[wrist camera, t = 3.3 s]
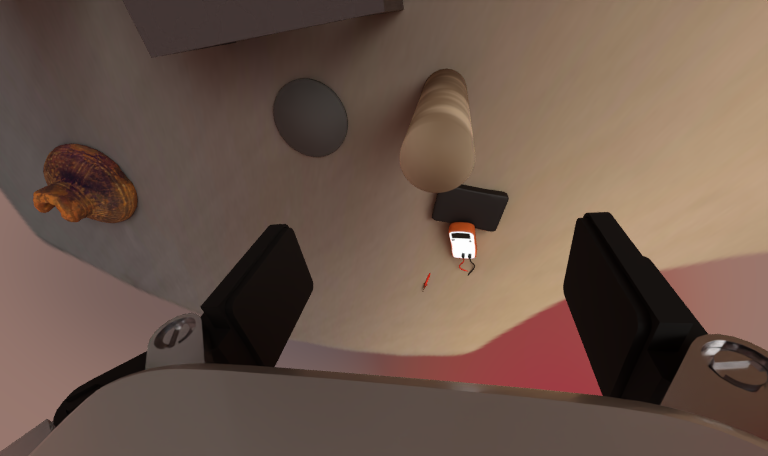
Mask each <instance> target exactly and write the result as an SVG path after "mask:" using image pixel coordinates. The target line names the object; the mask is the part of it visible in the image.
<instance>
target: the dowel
mask: <svg viewBox="0 0 768 456" xmlns="http://www.w3.org/2000/svg"><path fill="white" fill-rule="evenodd" d="M474 164H475V148H474V141H473V133H472V125H471V118H470V110H469V103H468V95H467V88H466V83H465V80H464V78H463V77H462V76H461V75H460V74H459V73H458V72H456V71H454V70H452V69H441V70H438V71H436V72H434V73H433V74H432V75H431V76H430V77H429V78H428V79H427V81H426V83H425V85H424V88H423V91H422V93H421V96H420V99H419V101H418V104H417V107H416V109H415V112H414V115H413V117H412V120H411V123H410V126H409V128H408V131H407V134H406V136H405V139H404V142H403V144H402V147H401V150H400V166H401V169H402V172H403V174H404V176H405V177H406V178H407V180H408V181H409V182H410V183H411V184H412V185H414V186H415V187H417V188H419V189H421V190H423V191H426V192H432V193H442V192H447V191H450V190H453V189H455V188H457V187H458V186H460V185H461V184H462V183H464V182H465V181H466V180H467V179H468V177H469V176H470V174H471V172H472V170H473V168H474Z"/></svg>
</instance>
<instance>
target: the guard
mask: <svg viewBox="0 0 768 456" xmlns="http://www.w3.org/2000/svg"><path fill="white" fill-rule="evenodd" d="M123 2H124V4H125V6H126V8H127V10H128V12H129V14H130V16H131V18H132V20H133V22H134V24H135V26H136V28H137V30H138V32H139V34H140V36H141V38H142V40H143V42H144V44H145V46H146V48H147V50H148V52H149V54H150V56H151V58H152V57H158V56H164V55H169V54H175V53H180V52H186V51H191V50H197V49H203V48H208V47H214V46H219V45H225V44H230V43H235V42H236V41H239V40H244V39H249V38H254V37H259V36H264V35H269V34H275V33H280V32H285V31H290V30H295V29H300V28H305V27H310V26H315V25H320V24H325V23H330V22H335V21H340V20H345V19H350V18H355V17H360V16H366V15H374V14H381V13H387V12H392V11H397V10H403V9H404V6H403V0H123Z"/></svg>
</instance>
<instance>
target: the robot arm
mask: <svg viewBox="0 0 768 456" xmlns="http://www.w3.org/2000/svg"><path fill="white" fill-rule="evenodd" d="M563 290H564V295H565V298H566V301H567V303H568V306H569V308H570V311H571V314H572V317H573V319H574V321H575V324H576V327H577V330H578V332H579V335H580V337H581V340H582V343H583V345H584V348H585V351H586V353H587V356H588V358H589V361H590V364H591V366H592V369H593V372H594V374H595V377H596V379H597V382H598V385H599V387H600V390H601V392H602V395H603V396H598V395H588V394H579V393H569V392H560V391H549V390H540V389H530V388H519V387H507V386H496V385H485V384H484V385H483V384H473V383H462V382H450V381H439V380H427V379H415V378H403V377H390V376H379V375H367V374H354V373H342V372H330V371H317V370H304V369H291V368H277V367H275V365H276V363H277V361H278V359H279V357H280V355H281V353H282V351H283V349H284V347H285V345H286V343H287V341H288V339H289V337H290V335H291V333H292V331H293V329H294V327H295V325H296V323H297V321H298V319H299V317H300V315H301V313H302V311H303V309H304V307H305V305H306V303H307V301H308V299H309V297H310V295H311V293H312V291H313V281H312V278H311V275H310V273H309V270H308V267H307V265H306V262H305V259H304V257H303V254H302V252H301V249H300V246H299V244H298V241H297V238H296V236H295V233H294V231H293V229H292V228H289V226H288V225H286V224H276V225H270V226H268V228H267V229H266V230H265V231H264V232H263V233H262V235H261V236H260V237H259V238H258V239H257V241H256V242H255V243H254V244H253V245H252V246H251V248H250V249H249V250H248V251H247V252H246V254H245V255H244V256H243V257H242V258H241V259H240V261H239V262H238V263H237V264H236V265H235V266H234V268H233V269H232V270H231V271H230V272H229V274H228V275H227V276H226V277H225V278H224V279H223V281H222V282H221V283H220V284H219V285H218V287H217V288H216V289H215V290H214V291H213V292H212V294H211V295H210V296H209V297H208V298H207V300H206V301H205V302H204V303H203V304H202V305H201V309H202V310H203V311H204V313H203V315H202V316H201V317H200V316H199V315H197V314H194V313H188V314H183V315H180V316H177V317H175V318H173V319H171V320H169V321H167V322H166V323H165V324H163V325H162V326H161V327H160V328H159V329H158V330H157V331H156V332H155V333H154V334H153V335H152V337H151V338H150V341H149V344H148V349H147V351H146V352H144V353H143V354H140V355H139V356H137V357H135V358H133V359H131V360H129V361H127V362H125V363H123V364H121V365H119V366H117V367H115V368H113V369H111V370H110V371H108V372H106V373H104V374H102V375H100V376H98V377H96V378H94V379H92V380H90V381H88V382H87V383H85V384H83V385H82V386H80V387H78V388H77V389H75V390H74V391H73V392H72V393H71V394H70V395H69V396H68V397H67V398H66V399H65V400H64V401H63V403H62V404H61V405H60V407H59V408H58V409H57V411H56V413H55V416H54V420H53V421H52V422H51V421H50V420H48V419H46V420H45V421H43V422H42V423H41V424H39V425H38V426H36V427H35V428H33V429H32V430H31V431H29V432H28V433H26V434H25V435H24V436H22V437H21V438H19V439H18V440H16V441H15V442H13V443H12V444H11V445H9V446H8V447H6V448H5V449H3V450H2V451H1V452H0V456H768V351H766V350H765V349H762V348H761V347H759V346H756V345H754V344H752V343H750V342H748V341H745V340H742V339H739V338H736V337H732V336H727V335H721V334H708V333H707V332H706V331H705V329H704V328H703V327H702V326H701V324H700V323H699V322H698V320H697V319H696V318H695V317H694V315H693V314H692V313H691V311H690V310H689V309H688V308H687V306H686V305H685V304H684V302H683V301H682V300H681V299H680V297H679V296H678V295H677V293H676V292H675V291H674V289H673V288H672V287H671V286H670V284H669V283H668V282H667V280H666V279H665V278H664V277H663V275H662V274H661V273H660V271H659V270H658V269H657V268H656V266H655V265H654V264H653V262H652V261H651V260H650V259H649V258H647V257H644V256H642V254H641V253H640V252H639V250H638V249H637V248H636V246H635V245H634V244H633V242H632V241H631V240H630V238H629V237H628V236H627V235H626V233H625V232H624V231H623V229H622V228H621V227H620V225H619V224H618V223H617V221H616V220H615V219H614V217H613V216H612V215H611V214H610V213H609V212H598V213H586V214H585V215H584V216H583V218H578V219H577V221H576V225H575V230H574V235H573V240H572V245H571V250H570V255H569V260H568V264H567V269H566V274H565V279H564V285H563Z"/></svg>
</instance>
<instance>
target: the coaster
mask: <svg viewBox="0 0 768 456" xmlns="http://www.w3.org/2000/svg"><path fill="white" fill-rule="evenodd" d="M274 119H275V123H276V126H277V128H278V131H279V132H280V134H281V136H282V137H283V139H284V140H285V141H286V142H287V143H288V144H289V145H290V146H291V147H292V148H294V149H295V150H297V151H298V152H300V153H302V154H305V155H308V156H313V157H321V156H326V155H329V154H331V153H333V152H334V151H336V150H337V149H338V148H339V147H340V145H341V144H342V143H343V141H344V139H345V137H346V133H347V127H348V120H347V115H346V111H345V108H344V106H343V104H342V102H341V100H340V99H339V97H338V96H337V95H336V94H335V93H334V92H333V91H332V90H331V89H330V88H329V87H327V86H326V85H325V84H323V83H321V82H318V81H316V80H312V79H298V80H294V81H292V82H290V83H288V84H286V85H285V86H284V87H283V88H282V89H281V90H280V91H279V93H278V94H277V96H276V99H275V103H274Z"/></svg>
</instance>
